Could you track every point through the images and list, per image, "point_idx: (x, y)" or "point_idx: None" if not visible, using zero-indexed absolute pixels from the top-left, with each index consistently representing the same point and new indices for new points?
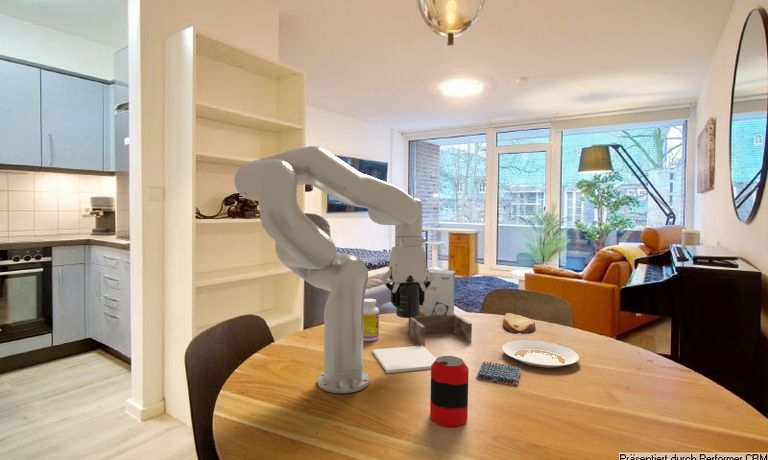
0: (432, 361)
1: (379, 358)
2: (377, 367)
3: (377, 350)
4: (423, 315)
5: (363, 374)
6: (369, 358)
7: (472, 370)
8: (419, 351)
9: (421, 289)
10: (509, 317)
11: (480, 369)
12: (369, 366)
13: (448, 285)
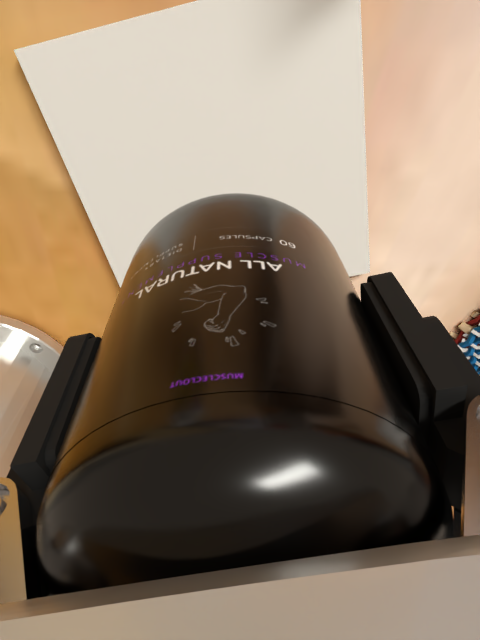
0: (334, 238)
1: (85, 202)
2: (91, 262)
3: (50, 67)
4: None
5: (54, 367)
6: (29, 154)
7: (463, 289)
8: (307, 93)
9: (453, 491)
10: None
11: (477, 335)
12: (54, 252)
13: None
